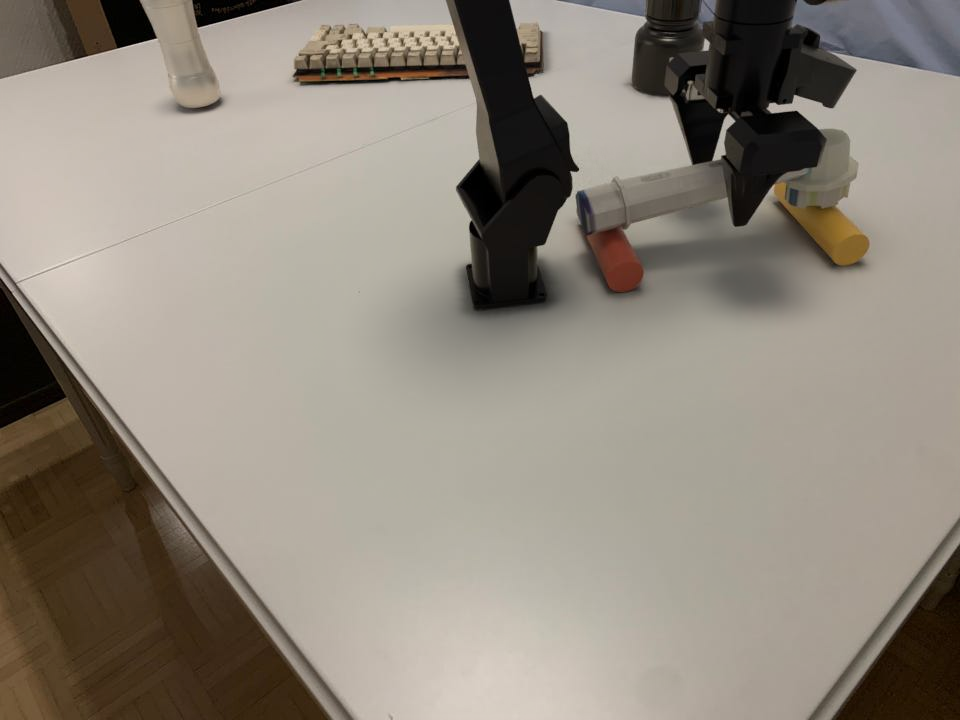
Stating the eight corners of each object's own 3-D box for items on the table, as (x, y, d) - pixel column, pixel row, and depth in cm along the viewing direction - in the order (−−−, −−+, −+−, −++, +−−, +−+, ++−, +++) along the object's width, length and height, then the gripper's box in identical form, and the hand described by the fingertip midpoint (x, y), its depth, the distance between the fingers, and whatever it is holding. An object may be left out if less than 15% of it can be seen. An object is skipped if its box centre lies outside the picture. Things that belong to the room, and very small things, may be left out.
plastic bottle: (198, 117, 97) (143, -48, 84) (167, 108, 100) (109, -52, 87) (234, 100, 101) (187, -60, 88) (203, 92, 104) (153, -64, 91)
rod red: (642, 289, 62) (645, 259, 60) (606, 294, 62) (608, 263, 59) (607, 220, 71) (609, 191, 69) (575, 224, 71) (576, 194, 68)
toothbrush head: (571, 177, 63) (845, 105, 63) (578, 240, 67) (834, 172, 67) (588, 206, 59) (879, 129, 59) (594, 271, 63) (866, 199, 63)
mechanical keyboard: (542, 33, 115) (542, 10, 113) (544, 77, 101) (544, 52, 99) (315, 44, 118) (311, 22, 116) (286, 88, 104) (280, 64, 102)
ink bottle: (683, 101, 91) (697, 1, 83) (619, 91, 95) (626, -6, 87) (707, 76, 97) (722, -20, 89) (646, 67, 101) (655, -26, 93)
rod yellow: (863, 263, 63) (874, 232, 61) (828, 267, 63) (838, 236, 60) (801, 198, 72) (809, 169, 70) (770, 201, 72) (777, 172, 69)
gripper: (929, 42, 47) (859, 244, 57) (800, -28, 61) (762, 145, 71) (766, 59, 46) (725, 260, 57) (673, -15, 60) (654, 157, 71)
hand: (719, 199), depth 64 cm, fingers open, 9 cm apart
